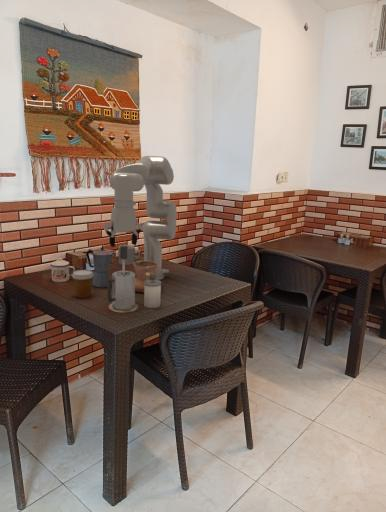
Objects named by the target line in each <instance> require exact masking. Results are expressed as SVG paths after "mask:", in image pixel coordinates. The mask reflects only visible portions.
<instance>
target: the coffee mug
mask: <svg viewBox="0 0 386 512" xmlns="http://www.w3.org/2000/svg"><path fill="white" fill-rule="evenodd" d="M120 246H127V259H125V266H129V265H130V266H131V265H134V262H135V260H137V259H139V258H140V256H141V253H140V252H141V251H140V249H138V248H135V245H131V244H129V245H128V244H126V245H125V244H124V245H123V244H122V245H119V246H118V247H117V248H118V249H117V250H118V251H117V254H118V257H117V260H118V261H117V264H119V265H122V266H123V259H121V258H120ZM136 252H137V255H136Z"/></svg>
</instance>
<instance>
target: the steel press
mask: <svg viewBox="0 0 386 512" xmlns="http://www.w3.org/2000/svg"><path fill="white" fill-rule="evenodd" d="M122 274H123V270H118V271H114V272H113V273H112V274H111V279H109V280H107V287H106V288H107V302H108V303H111V304H112V308H113V309H115V310H119V311H127V310H131V309H133V308H134V307H135V303H136V297H135V296H136V291H135V279H136V273H135V272H134V271H130V270H125V275H122Z"/></svg>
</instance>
